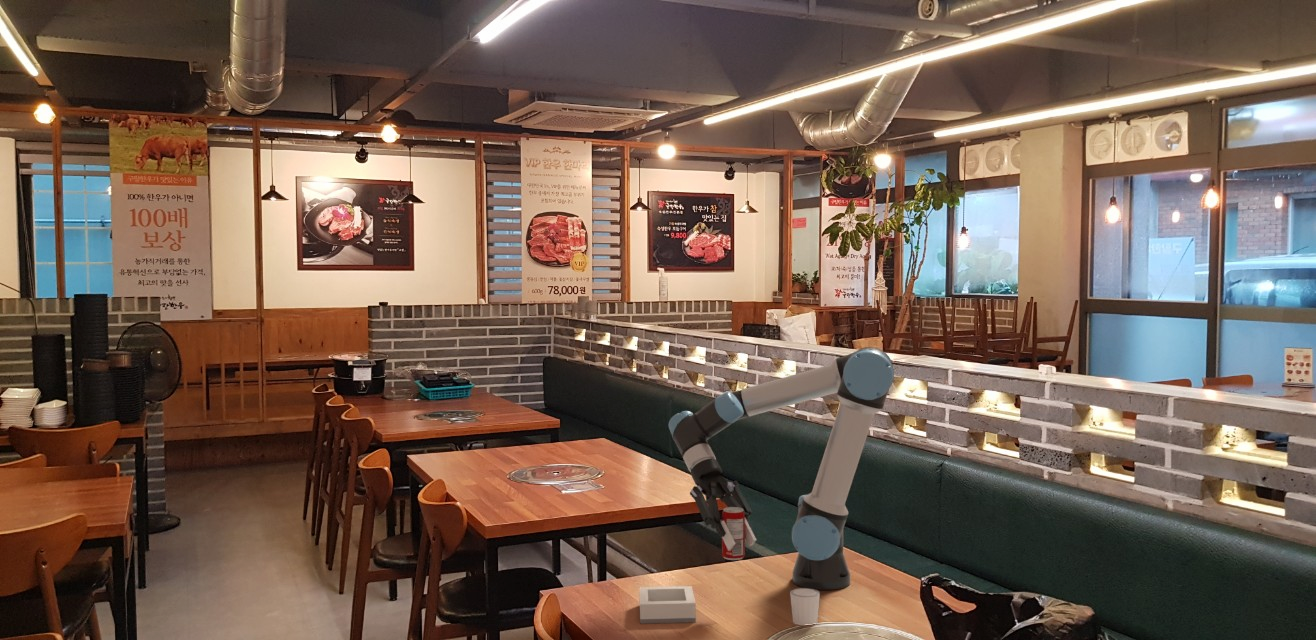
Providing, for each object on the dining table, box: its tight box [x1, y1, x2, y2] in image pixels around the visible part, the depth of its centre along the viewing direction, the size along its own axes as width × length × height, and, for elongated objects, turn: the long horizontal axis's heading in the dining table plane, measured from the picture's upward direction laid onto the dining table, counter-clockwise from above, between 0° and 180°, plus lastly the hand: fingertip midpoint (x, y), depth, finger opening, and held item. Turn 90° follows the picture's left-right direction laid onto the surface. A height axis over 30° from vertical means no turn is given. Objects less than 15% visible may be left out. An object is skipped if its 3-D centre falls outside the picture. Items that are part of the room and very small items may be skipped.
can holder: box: [638, 585, 697, 624], centre depth 230 cm, size 13×13×4 cm
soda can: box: [721, 506, 746, 561], centre depth 232 cm, size 6×6×12 cm
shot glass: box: [789, 587, 821, 626], centre depth 224 cm, size 7×7×7 cm
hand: (742, 544), depth 229 cm, fingers closed on soda can, 5 cm apart
